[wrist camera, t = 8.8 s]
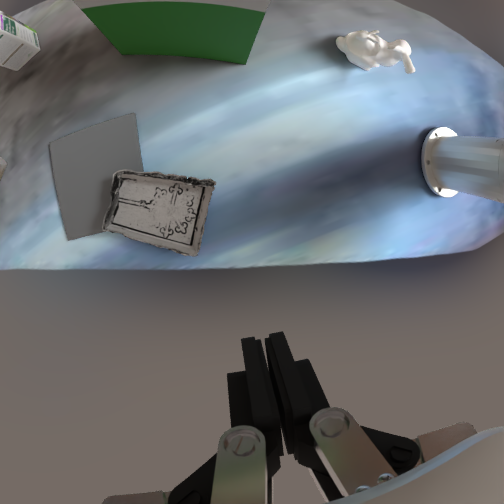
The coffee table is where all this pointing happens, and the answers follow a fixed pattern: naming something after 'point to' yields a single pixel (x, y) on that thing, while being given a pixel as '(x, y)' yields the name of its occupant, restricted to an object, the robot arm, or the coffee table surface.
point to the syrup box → (16, 43)
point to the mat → (92, 171)
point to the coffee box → (2, 166)
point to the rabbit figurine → (374, 50)
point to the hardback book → (179, 26)
